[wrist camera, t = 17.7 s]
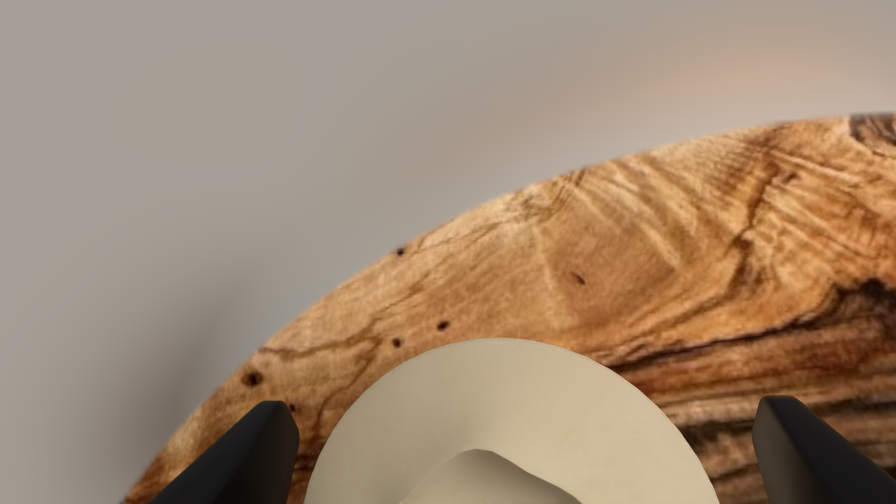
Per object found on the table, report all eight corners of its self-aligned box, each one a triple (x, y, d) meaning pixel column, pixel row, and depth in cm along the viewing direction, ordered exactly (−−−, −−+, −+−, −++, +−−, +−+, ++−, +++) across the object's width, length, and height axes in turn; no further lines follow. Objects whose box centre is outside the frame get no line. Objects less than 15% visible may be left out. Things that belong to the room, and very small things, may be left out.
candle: (435, 343, 16) (263, 323, 6) (627, 351, 15) (773, 342, 5) (426, 542, 15) (204, 881, 5) (631, 565, 14) (821, 1042, 4)
